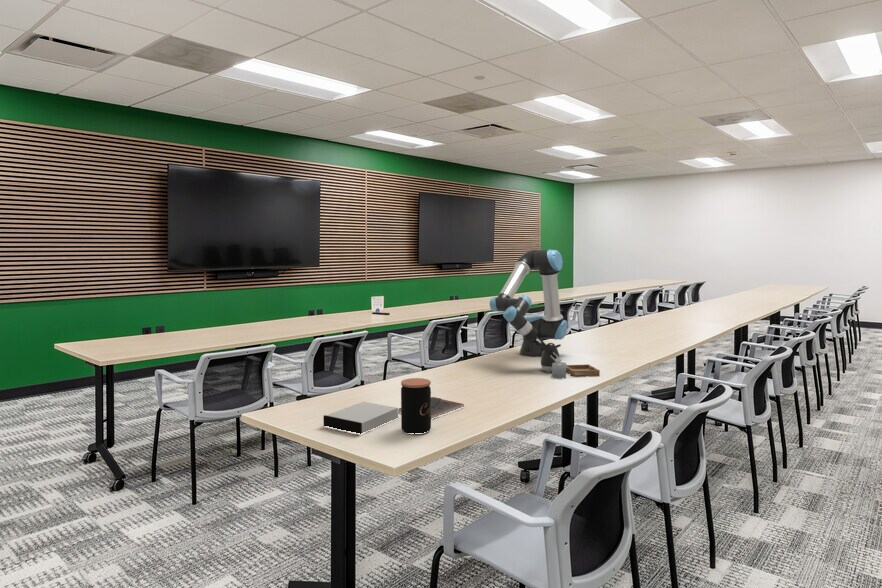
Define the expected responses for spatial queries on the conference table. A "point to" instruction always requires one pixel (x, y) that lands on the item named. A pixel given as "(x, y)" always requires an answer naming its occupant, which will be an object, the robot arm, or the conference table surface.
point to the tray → (582, 370)
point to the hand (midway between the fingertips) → (556, 360)
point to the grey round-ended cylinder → (558, 370)
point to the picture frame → (441, 406)
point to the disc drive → (361, 417)
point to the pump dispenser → (547, 360)
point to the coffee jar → (415, 405)
